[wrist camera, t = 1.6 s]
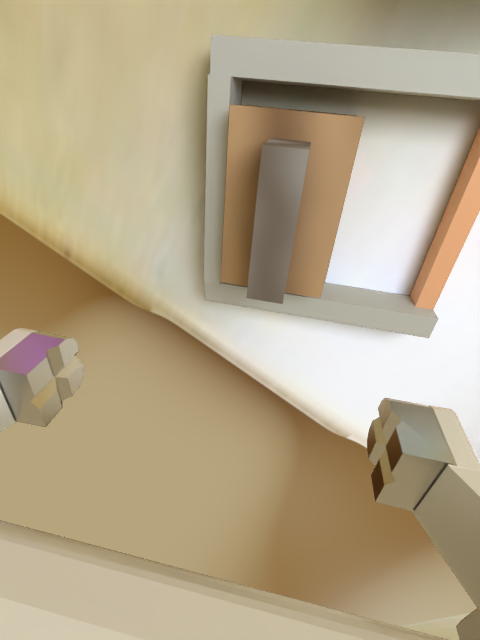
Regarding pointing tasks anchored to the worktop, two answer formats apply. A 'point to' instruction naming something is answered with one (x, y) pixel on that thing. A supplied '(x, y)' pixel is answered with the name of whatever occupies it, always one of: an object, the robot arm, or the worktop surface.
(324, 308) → the bay
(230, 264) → the brown and grey block
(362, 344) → the worktop surface
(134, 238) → the worktop surface
